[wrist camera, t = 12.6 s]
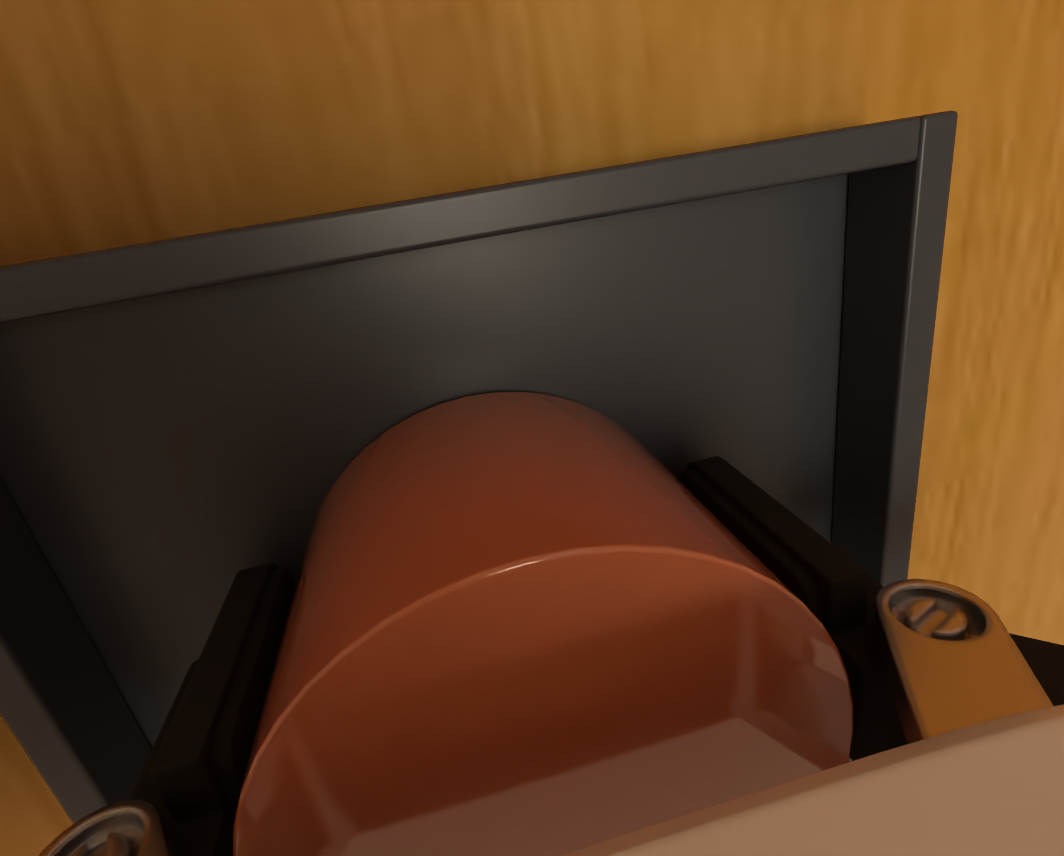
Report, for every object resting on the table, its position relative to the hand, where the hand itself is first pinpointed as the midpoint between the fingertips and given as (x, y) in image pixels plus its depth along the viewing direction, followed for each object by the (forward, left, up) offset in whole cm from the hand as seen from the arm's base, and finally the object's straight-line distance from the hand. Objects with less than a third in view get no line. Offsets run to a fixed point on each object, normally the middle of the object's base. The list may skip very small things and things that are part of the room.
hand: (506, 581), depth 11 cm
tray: (0, 0, -1) cm, 1 cm away
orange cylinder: (0, 0, 0) cm, 0 cm away
